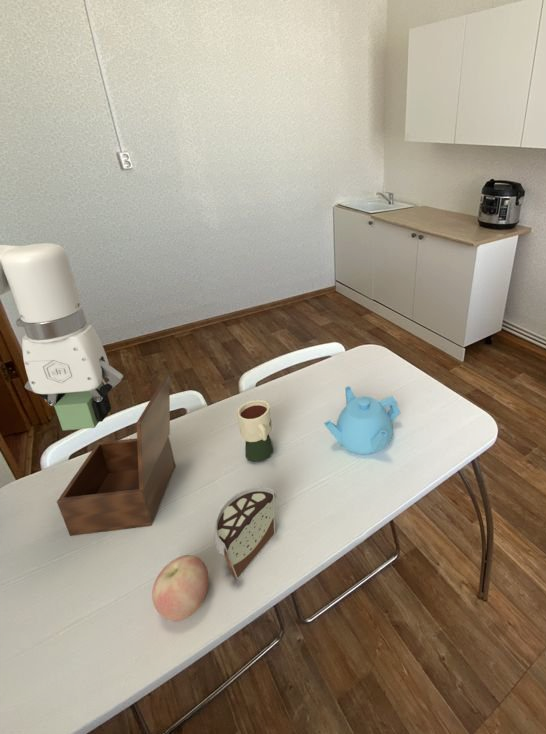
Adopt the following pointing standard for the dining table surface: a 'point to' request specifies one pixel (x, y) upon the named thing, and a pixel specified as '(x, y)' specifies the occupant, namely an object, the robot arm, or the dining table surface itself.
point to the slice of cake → (245, 527)
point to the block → (76, 411)
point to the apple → (180, 588)
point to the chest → (114, 489)
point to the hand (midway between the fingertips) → (86, 416)
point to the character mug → (256, 429)
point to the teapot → (364, 423)
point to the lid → (153, 430)
